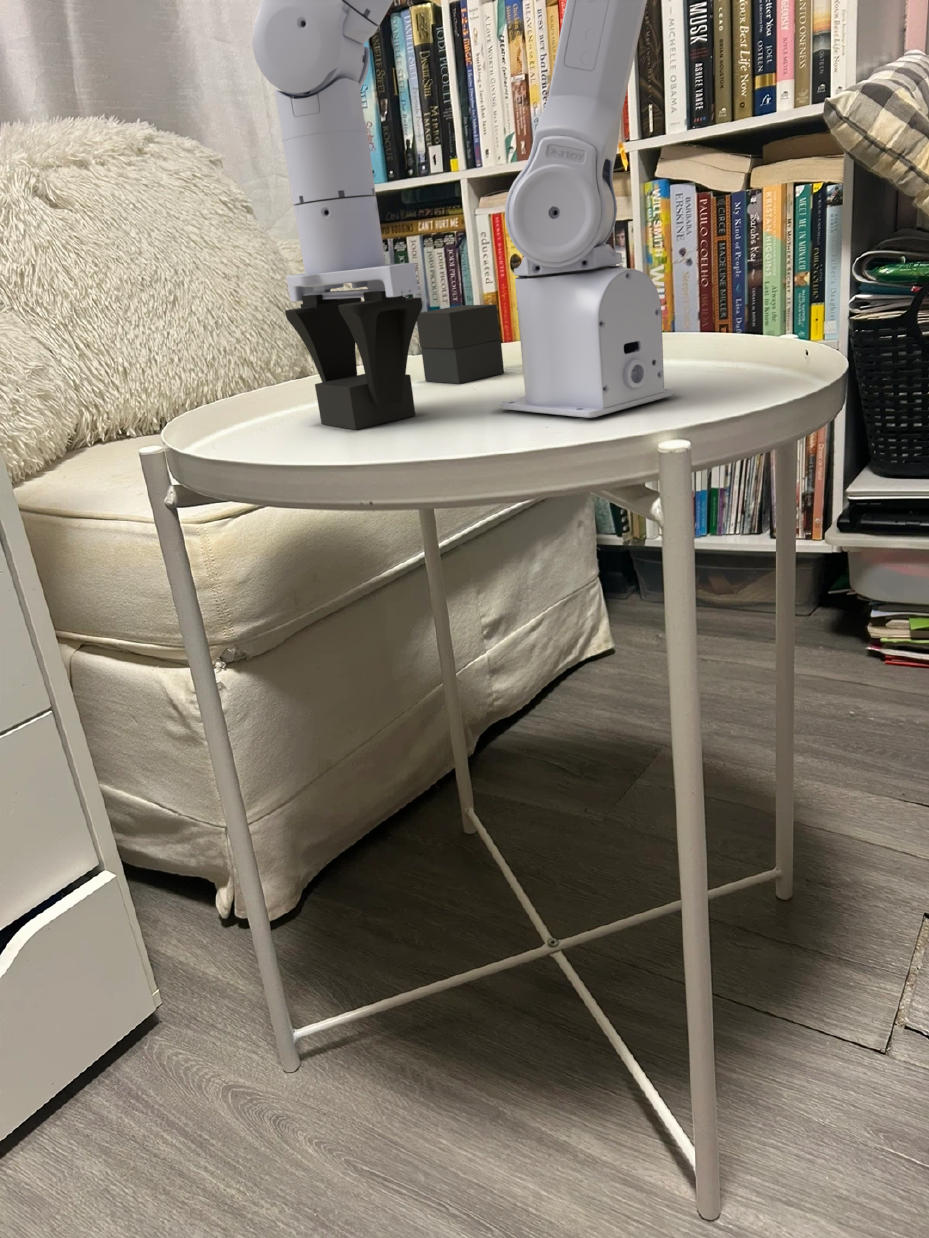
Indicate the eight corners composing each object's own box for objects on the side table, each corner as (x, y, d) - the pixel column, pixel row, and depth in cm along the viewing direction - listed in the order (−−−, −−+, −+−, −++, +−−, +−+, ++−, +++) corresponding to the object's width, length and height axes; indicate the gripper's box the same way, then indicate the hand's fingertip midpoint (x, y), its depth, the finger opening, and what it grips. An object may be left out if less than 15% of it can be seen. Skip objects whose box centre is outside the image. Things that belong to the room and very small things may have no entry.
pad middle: (500, 339, 84) (496, 304, 82) (453, 349, 81) (449, 312, 80) (465, 338, 88) (461, 305, 86) (419, 347, 85) (415, 313, 84)
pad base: (504, 373, 85) (501, 339, 84) (459, 384, 82) (454, 348, 81) (469, 371, 89) (465, 338, 88) (424, 381, 86) (420, 347, 85)
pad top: (416, 415, 70) (410, 374, 68) (355, 430, 67) (349, 387, 66) (379, 410, 74) (373, 371, 72) (321, 424, 71) (314, 384, 70)
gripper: (237, 216, 68) (273, 405, 73) (337, 194, 57) (371, 418, 62) (321, 208, 72) (350, 388, 77) (431, 186, 61) (456, 398, 66)
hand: (365, 401), depth 70 cm, fingers open, 6 cm apart
